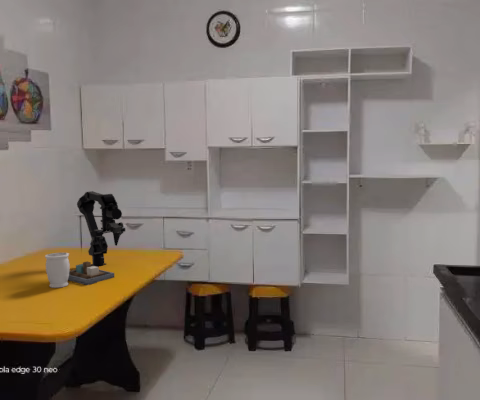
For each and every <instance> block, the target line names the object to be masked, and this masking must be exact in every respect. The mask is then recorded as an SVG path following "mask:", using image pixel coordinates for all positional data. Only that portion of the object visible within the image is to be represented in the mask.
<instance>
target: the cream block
mask: <svg viewBox="0 0 480 400" xmlns="http://www.w3.org/2000/svg"><path fill="white" fill-rule="evenodd" d="M99 267H100V266H98V267H96V266H91V267H87V275H90V276H93V275H97V274H99V270H100V268H99Z"/></svg>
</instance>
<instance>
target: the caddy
mask: <svg viewBox="0 0 480 400" xmlns="http://www.w3.org/2000/svg"><path fill="white" fill-rule="evenodd" d="M82 264H83V274H82V273H77V272H76V269H72V270H73V271H72V270H69V271H70V275H72V276H76V277H80V278H84V279H91V278H95V277H99V276H103V275H105V273H103V272H99V274H97V275H93V276H90V275H87V267H91V264H92V262H91V261H83V262H82Z"/></svg>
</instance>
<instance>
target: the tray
mask: <svg viewBox="0 0 480 400" xmlns="http://www.w3.org/2000/svg"><path fill="white" fill-rule="evenodd" d="M73 270H74V269H72V270H69V278H68V280H67V281H70V282H75V283H78V284H82V285H86V286H89V285H93V284H97V283H98V282H102V281H107V280H110V279H113V278H115V272H111V271H107V270H103V269H99V272H103V273H105V275H103V276H99V277H95V278H91V279H84V278H80V277H76V276H72V275H70V271H73Z"/></svg>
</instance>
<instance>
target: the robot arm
mask: <svg viewBox="0 0 480 400" xmlns="http://www.w3.org/2000/svg"><path fill="white" fill-rule="evenodd" d="M96 202H97V204H98V205H100V207H99V209H100V210H101V219H100V222H101V223H102V224H101V225H102V227H100V229H99V227H98V224H97V220H96V218H95V215H94V209H95V204H96ZM76 205H77V208H78V210H79V213H81V214H82V215H83V216H84V219H85V222H86V225H87V228H88V232H89V235H90V238H91V240H90V242H89V243H90V247H89V249H88V251H87V253H88V255H89V256H91V258H92V259H91V261H92V262H91V266H96V267H102V266H106V265H108V264H107V263H105V254H108V243H107V239H106V237H105V236H104V234H107V233H112V236H113V241H114V246H116V247H117V246H118V244H119V240H120V237H121V235H122V234H124V233H125V232H126V227H125V226H124V223H123V222H117V223H116V220H120V218H122V215H123V212H122V210H121V209H120V208H119V206H118V201H116V198H115V196H114V194H113V193H106V194H103V193H99V192H95V191H93V190H92V191H85V192H84V194H83V195H82V196H81V197H80V198H78V200H77V203H76Z"/></svg>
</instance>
